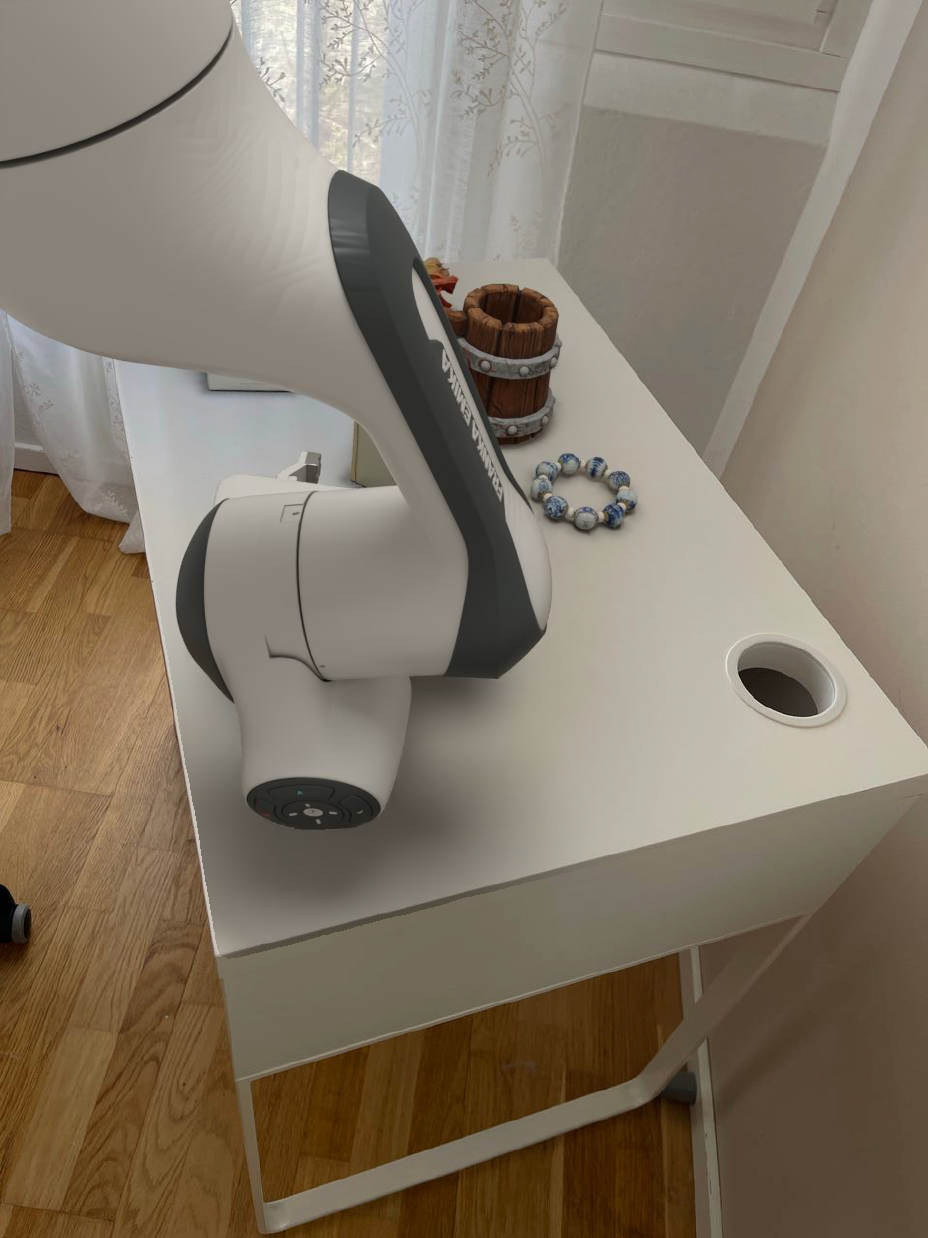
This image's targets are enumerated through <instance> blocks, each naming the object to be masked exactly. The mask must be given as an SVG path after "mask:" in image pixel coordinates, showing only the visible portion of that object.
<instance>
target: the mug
mask: <svg viewBox="0 0 928 1238" xmlns="http://www.w3.org/2000/svg"><path fill="white" fill-rule="evenodd" d="M519 286H520V285H518V284H511V283H489V284H485V285H481V286H480V288H479V287H477V288H474V289H473V290H471V291H469V292H468V293H467V295H466V296H465V298H464V300H463V305H462V310H452V309H451V310H449V309H445V308H444V310H445V312H446V315H447V317H448V319H449V322H450V324H451V327H452V329H453V332H454V334H455V337H456V339H457V341H458V344H459V346H460V349H461V351H462V354H463V356H464V358H465V361H466V363H467V366H468V368H469V371H470V373H471V376H472V378H473V381H474V383H475V386H476V388H477V391H478V393H479V396H480V398H481V401H482V403H483V406H484V408H485V411H486V413H487V416H488V418H489V421H490V423H491V426H492V428H493V431H494V433H495V436H496V438H497V441H498V443H499V446H510V445H518V444H521V443H525V442H528V441H530V440H531V438H532V439H534V438H535V437H537V436H538V435H539V434H541V433H542V432H543V430H544V427H545V426H546V425H548V423H549V422H550V419H551V417H552V414H553V411H554V405H555V404H556V402H557V398H556V397H555V396H554V395H553V391H552V388H551V386H550V381H551V373H552V369H554V368H556V367H557V364H558V361H559V359H560V353H561V348H562V346H563V342H562V339H560V336H559V334H558V332H557V331H556V330H557V329H558V324H559V317H560V314H559V311H558V308H557V307H556V306H555V304H554V302H553V301H552V300H550V298H548V296H546V295H544V294H542V293H541V292H539V291H537V290H534V289H531V288H529V287H526V286H525V287H523V289H520V287H519Z"/></svg>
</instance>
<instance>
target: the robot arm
mask: <svg viewBox="0 0 928 1238" xmlns="http://www.w3.org/2000/svg"><path fill="white" fill-rule="evenodd" d="M423 261H424V260H423V259H422V257H421V254H420V252H419V250H418V249H417V246H416V244H415V242H414V239H413V238H412V235H411V234H410V231H409V230H408V229H407V227H406V225H405V224H404V221H403V220H402V218H401V216H400V215H399V213H398V211H397V210H396V209H395V207H394V205H393V204H392V203H391V201H390V199H389V198H388V197H387V195H386V194H385V192H384V191H383V190H382V189H381V188H380V187H379V186H377V185H375V184H373V183H371V182H369V181H367V180H365V179H363V178H361V177H359V176H356V175H355V174H352V173H350V172H348V171H346V170H344V169H340V168H338V167H337V166H336V165H335V164H334V163H333V162H332V161H330V159H328V158H327V157H326V156H325V155H323V154H322V153H321V151H319V150H318V148H316V146H315V145H313V143H311V142H310V141H309V139H308V138H307V137H306V136H305V134H303V133H302V131H301V130H300V129H299V128H298V127H297V126H296V125H295V124H294V123H293V121H292V120H291V118H290V117H289V116H288V115H287V114H286V112H285V111H284V110H283V109H282V107H281V106H280V104H279V103H278V101H277V100H276V98H275V97H274V95H273V94H272V93H271V90H269V88H268V86H267V85H266V83H265V81H264V79H263V78H262V77H261V75H260V73H259V71H258V69H257V68H256V66H255V64H254V61H253V60H252V59H251V55H250V53H249V52H248V50H247V48H246V45H245V43H244V40H243V37H242V35H241V33H240V30H239V26H238V24H237V21H236V18H235V14H234V12H233V8H232V5H231V1H230V0H0V310H2V311H3V312H5V314H6V315H8V316H9V317H11V318H12V319H13V320H15V321H16V322H18V323H20V324H21V325H23V326H25V327H26V328H28V329H30V330H32V331H33V332H35V333H38V334H40V335H41V336H44V337H47V338H48V339H51V340H53V341H56V342H58V343H61V344H63V345H66V346H69V347H72V348H74V349H76V350H78V351H79V350H80V351H82V352H86V353H88V354H93V355H96V356H99V357H104V358H108V359H112V360H116V361H121V362H127V363H133V364H140V365H146V366H147V365H149V366H155V367H164V368H171V369H178V370H185V371H191V372H200V373H206V374H207V373H210V374H216V375H222V376H228V377H233V378H237V379H242V380H247V381H251V382H256V383H260V384H264V385H268V386H272V387H276V388H280V389H283V390H287V391H286V392H289V393H294V394H298V395H300V396H304V397H306V398H308V399H311V400H315V401H317V402H319V403H323V404H324V405H326V406H329V407H330V408H333V409H335V410H337V411H338V412H341V413H342V414H344V415H345V416H347V417H349V418H350V419H351V420H353V422H354V421H355V422H357V423H358V424H359V425H360V426H361V427H362V428H363V429H364V430H365V431H366V432H367V433H368V435H369V436H370V437H371V439H372V441H373V442H374V444H375V446H376V448H377V449H378V451H379V453H380V455H381V457H382V459H383V460H384V462H385V464H386V466H387V468H388V469H389V471H390V473H391V475H392V477H393V479H394V480H395V482H396V484H397V485H396V486H383V487H370V488H367V487H360V488H351V487H343V486H335V485H329V484H322V483H321V484H320V483H319V480H320V475H321V470H322V453H318V452H313V451H305V450H301V451H300V453H299V457H298V460H297V462H295V463H293V464H291V465H290V466H288V467H286V468H284V469H283V470H282V471H280V472H278V473H277V475H276V477H267V476H261V475H253V474H246V473H239V472H238V473H237V472H236V473H232V474H229V475H228V476H226V477H224V478H222V479H221V480H219V482H218V485H217V488H216V491H215V495H214V499H213V503H212V509H210V511H208V513H207V514H206V515H205V516H204V517H203V519H202V520H201V522H200V523H199V524H198V526H197V528H196V530H195V532H194V533H193V535H192V537H191V538H190V540H189V543H188V545H187V547H186V550H185V552H184V554H183V557H182V560H181V563H180V566H179V571H178V575H177V581H176V590H175V617H176V622H177V626H178V630H179V632H180V636H181V639H182V641H183V643H184V645H185V647H186V650H187V652H188V653H189V655H190V656H191V658H192V659H193V660H194V662H195V663H196V665H197V666H198V667H199V668H200V669H201V670H202V671H203V672H204V674H205V675H206V676H207V678H209V679H210V680H211V682H212V683H213V684H214V685H215V686H216V687H217V688H218V690H219V691H220V692H221V693H222V695H224V696H225V697H226V698H227V699H228V700H229V701H230V702H231V703H232V704H233V705H234V707H235V710H236V714H237V715H236V716H237V718H238V719H237V720H238V725H239V730H240V738H241V739H240V740H241V763H240V788H241V794H242V797H243V800H244V802H245V803H246V805H247V807H248V808H249V809H250V810H251V811H252V812H253V813H255V814H256V815H258V816H260V817H261V818H264V820H267V821H269V822H270V823H273V824H275V825H278V826H284V827H287V828H291V829H294V830H300V831H333V830H347V829H354V828H357V827H359V826H362V825H366V824H368V823H370V822H373V821H374V820H375V819H376V818H378V817H379V816H380V815H381V814H382V813H383V812H384V811H385V809H386V806H387V805H388V802H389V800H390V797H391V794H392V792H393V789H394V785H395V782H396V779H397V775H398V772H399V768H400V764H401V761H402V756H403V751H404V747H405V742H406V737H407V731H408V726H409V718H410V713H411V711H410V710H411V702H412V684H411V683H412V682H411V679H410V678H411V677H422V676H441V678H455V679H456V678H458V679H459V678H461V679H486V680H488V679H489V680H499V678H501V677H502V676H504V675H505V674H507V673H508V672H510V670H511V669H512V668H514V667H515V666H516V665H517V664H518V663H519V662H520V661H522V660H523V659H524V658H525V657H526V656H527V655H528V654H529V653H530V652H531V651H532V650H533V649H534V648H535V646H537V644H539V642H540V641H541V640H542V638H543V637H544V636H545V635H546V633H547V629H548V620H549V617H550V613H551V608H552V598H553V573H552V564H551V558H550V553H549V548H548V547H549V546H548V545H547V541H546V538H545V535H544V532H543V530H542V527H541V525H540V523H539V521H538V519H537V518H536V515H535V514H534V511H533V508H532V506H531V503H530V501H529V499H528V497H527V495H526V494H525V492H524V490H523V488H522V487H521V486H520V484H519V483H518V480H517V479H516V478H515V477H514V475H513V472H512V471H511V469H510V467H509V465H508V462H507V461H506V459H505V456H504V453H503V450H502V448H501V445H499V443H498V441H497V438H496V436H495V433H494V431H493V428H492V426H491V423H490V421H489V418H488V416H487V413H486V411H485V408H484V406H483V403H482V401H481V398H480V396H479V393H478V391H477V388H476V386H475V383H474V381H473V378H472V376H471V373H470V371H469V368H468V366H467V363H466V361H465V358H464V356H463V354H462V351H461V349H460V346H459V344H458V341H457V339H456V337H455V334H454V332H453V329H452V327H451V324H450V322H449V319H448V317H447V315H446V312H445V310H444V308H443V305H442V303H441V301H440V298H439V296H438V294H437V291H436V289H435V287H434V285H433V282H432V280H431V278H430V276H429V273H428V271H427V269H426V267H425V265H424V263H423Z"/></svg>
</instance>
